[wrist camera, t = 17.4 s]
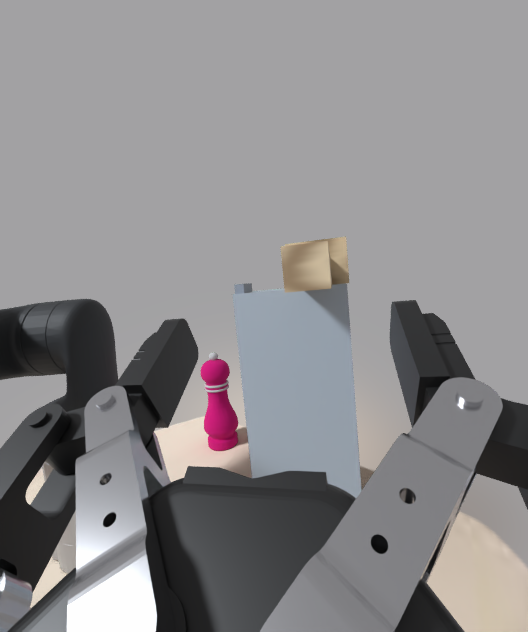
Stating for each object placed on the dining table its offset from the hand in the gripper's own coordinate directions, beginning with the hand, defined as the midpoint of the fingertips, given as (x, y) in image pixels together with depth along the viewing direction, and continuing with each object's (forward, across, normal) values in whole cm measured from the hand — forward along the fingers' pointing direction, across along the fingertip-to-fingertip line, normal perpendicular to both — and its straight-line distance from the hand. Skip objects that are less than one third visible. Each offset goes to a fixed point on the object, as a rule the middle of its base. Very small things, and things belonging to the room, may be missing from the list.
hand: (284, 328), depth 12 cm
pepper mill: (+25, -24, -51) cm, 61 cm away
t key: (+22, 0, -11) cm, 24 cm away
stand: (+11, -4, -42) cm, 44 cm away
